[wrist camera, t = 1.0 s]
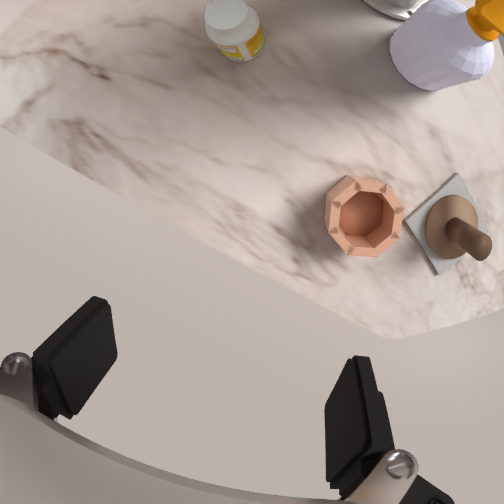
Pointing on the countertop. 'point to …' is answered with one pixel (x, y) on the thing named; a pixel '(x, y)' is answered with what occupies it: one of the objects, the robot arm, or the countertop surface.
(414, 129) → the countertop surface
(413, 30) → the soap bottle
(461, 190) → the mat
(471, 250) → the lid
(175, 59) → the countertop surface
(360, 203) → the octagonal peach pot
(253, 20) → the supplement bottle
